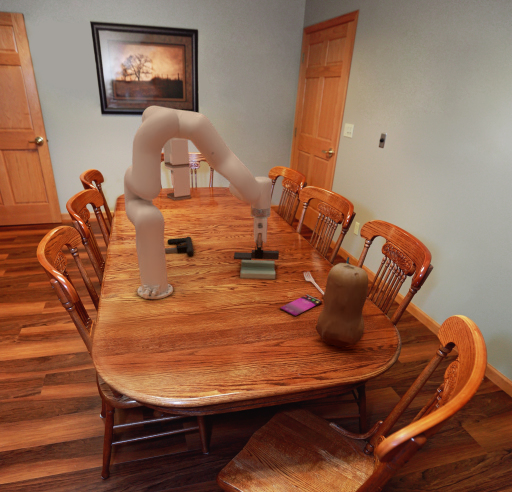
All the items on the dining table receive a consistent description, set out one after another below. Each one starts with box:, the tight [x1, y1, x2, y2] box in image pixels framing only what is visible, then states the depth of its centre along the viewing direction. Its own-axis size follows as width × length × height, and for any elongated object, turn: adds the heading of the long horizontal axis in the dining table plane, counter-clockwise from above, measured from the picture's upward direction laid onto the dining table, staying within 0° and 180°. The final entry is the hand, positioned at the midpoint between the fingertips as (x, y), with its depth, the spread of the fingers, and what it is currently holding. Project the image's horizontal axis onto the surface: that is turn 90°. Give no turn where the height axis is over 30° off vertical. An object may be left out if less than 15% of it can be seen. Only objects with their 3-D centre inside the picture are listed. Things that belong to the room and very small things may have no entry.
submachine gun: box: [165, 236, 196, 257], centre depth 182 cm, size 3×20×16 cm
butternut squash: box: [315, 262, 369, 348], centre depth 115 cm, size 14×13×25 cm
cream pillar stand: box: [162, 138, 192, 201], centre depth 253 cm, size 11×11×35 cm
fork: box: [303, 271, 325, 296], centre depth 155 cm, size 3×20×2 cm, turn 15°
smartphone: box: [279, 293, 323, 317], centre depth 141 cm, size 7×15×1 cm, turn 134°
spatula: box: [233, 249, 280, 261], centre depth 161 cm, size 18×6×3 cm, turn 90°
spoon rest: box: [239, 259, 276, 280], centre depth 165 cm, size 14×14×2 cm
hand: (258, 256), depth 162 cm, fingers closed on spatula, 2 cm apart
